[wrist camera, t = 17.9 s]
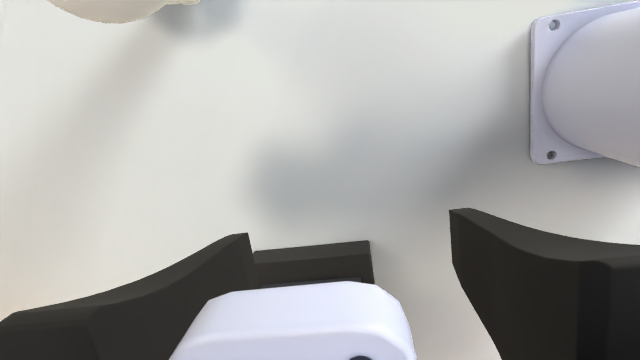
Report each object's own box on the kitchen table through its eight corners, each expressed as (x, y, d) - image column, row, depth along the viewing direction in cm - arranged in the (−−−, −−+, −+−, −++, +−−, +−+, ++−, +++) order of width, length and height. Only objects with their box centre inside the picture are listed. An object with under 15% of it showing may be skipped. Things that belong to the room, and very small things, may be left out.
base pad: (368, 239, 24) (369, 252, 22) (381, 339, 26) (383, 358, 24) (254, 251, 25) (246, 264, 23) (275, 345, 27) (270, 363, 25)
